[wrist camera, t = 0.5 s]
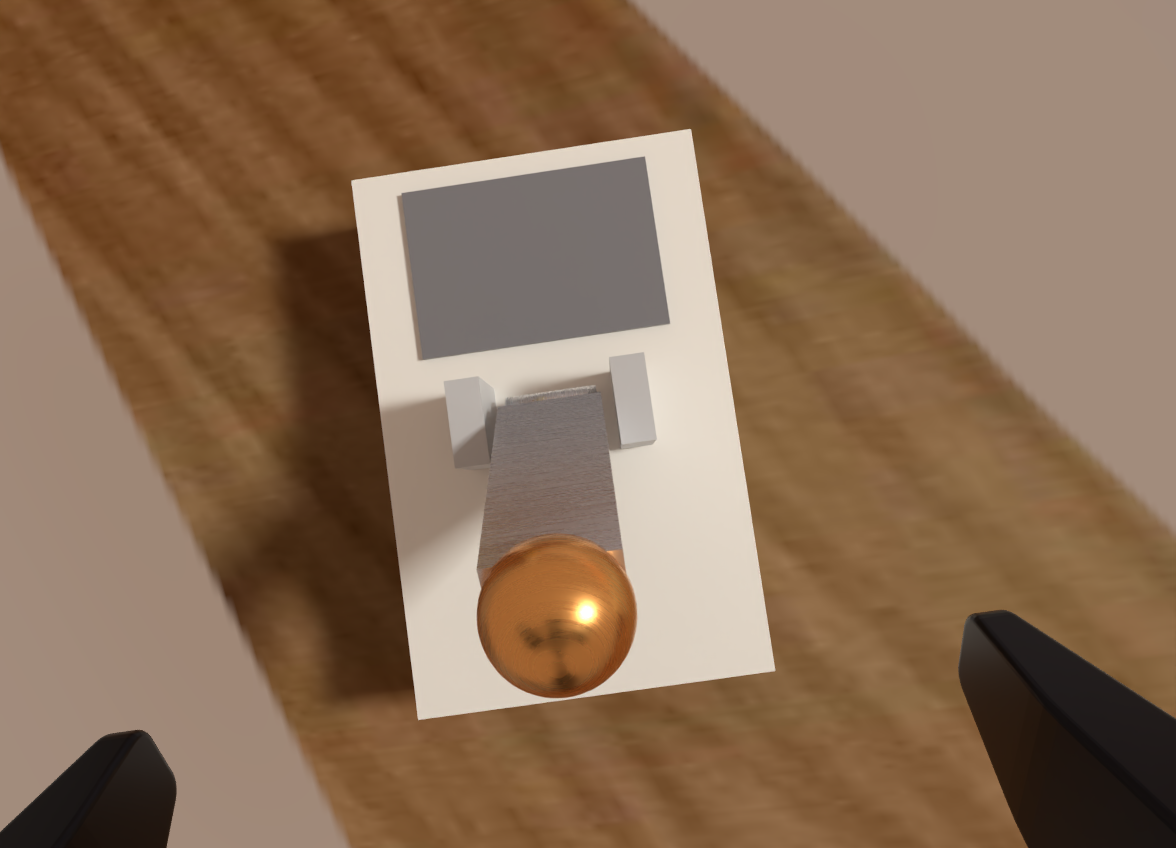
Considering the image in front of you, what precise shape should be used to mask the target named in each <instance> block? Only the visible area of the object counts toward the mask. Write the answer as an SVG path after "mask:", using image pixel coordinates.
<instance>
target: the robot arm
mask: <svg viewBox="0 0 1176 848" xmlns="http://www.w3.org/2000/svg"><path fill="white" fill-rule="evenodd" d="M958 670H959V679H960V683H961V686H962V689H963V692H964V695H965V697H966V700H967V702H968V705H969V707H970V710H971V712H972V715H973V717H974V720H975V722H976V725H977V727H978V730H979V732H980V735H981V738H982V740H983V743H984V745H985V748H986V750H987V753H988V755H989V758H990V760H991V763H992V765H993V768H994V770H995V773H996V775H997V778H998V780H999V783H1000V786H1001V788H1002V791H1003V793H1004V796H1005V798H1006V801H1007V803H1008V805H1009V808H1010V810H1011V813H1012V815H1013V817H1014V820H1015V822H1016V824H1017V826H1018V828H1019V830H1020V832H1021V834H1022V836H1023V838H1024V840H1025V842H1026V844H1027V846H1028V848H1176V718H1174V717H1172V716H1171V715H1169V714H1168V713H1166V712H1165V711H1163V710H1162V709H1160V708H1159V707H1157V706H1156V705H1154V704H1152V703H1151V702H1149V701H1148V700H1146V699H1145V698H1143V697H1142V696H1140V695H1139V694H1137V693H1136V692H1134V691H1132V690H1131V689H1129V688H1128V687H1126V686H1125V685H1123V684H1122V683H1120V682H1119V681H1117V680H1116V679H1114V678H1112V677H1111V676H1109V675H1108V674H1106V673H1105V672H1103V671H1102V670H1100V669H1099V668H1097V667H1096V666H1094V665H1092V664H1091V663H1089V662H1088V661H1086V660H1085V659H1083V658H1082V657H1080V656H1079V655H1077V654H1076V653H1074V652H1073V651H1071V650H1069V649H1068V648H1066V647H1065V646H1063V645H1062V644H1060V643H1059V642H1057V641H1056V640H1054V639H1053V638H1051V637H1049V636H1048V635H1046V634H1045V633H1043V632H1042V631H1040V630H1039V629H1037V628H1036V627H1034V626H1033V625H1031V624H1029V623H1028V622H1026V621H1025V620H1023V619H1022V618H1020V617H1019V616H1017V615H1016V614H1014V613H1012V612H1009V611H1007V610H995V611H988V612H981V613H974V614H971V615H970V616H969V617H968V618H967V619H966V622H965V625H964V632H963V638H962V645H961V652H960V658H959V666H958ZM175 801H176V781H175V777H174V775H173V772H172V771H171V769H170V767H169V766H168V764H167V763H166V761H165V759H164V757H163V756H162V754H161V753H160V751H159V749H158V748H157V746H156V744H155V743H154V741H153V739H152V738H151V736H150V735H149V734H148V733H146V732H144V731H143V730H134V731H126V732H119V733H113V734H108V735H106V736H104V737H102V738H100V739H99V740H98V741H97V742H95V743H94V744H93V745H92V746H91V747H90V748H89V749H88V750H87V751H86V752H85V753H84V754H83V755H82V756H81V757H79V758H78V759H77V760H76V761H75V762H74V763H73V764H72V765H71V766H70V767H69V768H68V769H67V770H66V771H65V772H63V773H62V774H61V775H60V776H59V777H58V778H57V779H56V780H55V781H54V782H53V783H52V784H51V785H50V786H49V787H48V788H46V789H45V790H44V791H43V792H42V793H41V794H40V795H39V796H38V797H37V798H36V799H35V800H34V801H33V802H32V803H31V804H29V805H28V806H27V807H26V808H25V809H24V810H23V811H22V812H21V813H20V814H19V815H18V816H17V817H16V818H15V819H14V820H12V821H11V822H10V823H9V824H8V825H7V826H6V827H5V828H4V829H3V830H2V831H1V832H0V848H166V847H167V841H168V836H169V832H170V826H171V821H172V816H173V811H174V806H175Z"/></svg>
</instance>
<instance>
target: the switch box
mask: <svg viewBox="0 0 1176 848" xmlns="http://www.w3.org/2000/svg"><path fill="white" fill-rule="evenodd" d="M352 189H353V197H354V206H355V214H356V222H357V230H358V238H359V246H360V254H361V262H362V270H363V278H364V286H365V294H366V302H367V310H368V318H369V327H370V335H371V343H372V351H373V359H374V367H375V375H376V383H377V391H378V399H379V407H380V415H381V423H382V431H383V440H384V448H385V456H386V464H387V472H388V480H389V488H390V496H391V504H392V512H393V520H394V528H395V536H396V544H397V552H398V561H399V569H400V577H401V585H402V593H403V601H404V609H405V617H406V625H407V633H408V641H409V649H410V657H411V665H412V673H413V682H414V690H415V698H416V706H417V714H418V720H421V719H428V718H435V717H443V716H450V715H457V714H465V713H472V712H479V711H487V710H494V709H501V708H509V707H516V706H523V705H530V704H538V703H545V702H552V701H560V700H567V699H574V698H582V697H589V696H596V695H603V694H611V693H618V692H625V691H633V690H640V689H647V688H655V687H662V686H669V685H677V684H684V683H691V682H698V681H706V680H713V679H720V678H728V677H735V676H742V675H750V674H757V673H764V672H772V671H775V666H774V659H773V653H772V647H771V640H770V634H769V627H768V621H767V615H766V608H765V602H764V595H763V589H762V582H761V576H760V570H759V563H758V557H757V550H756V544H755V538H754V531H753V525H752V518H751V512H750V505H749V499H748V493H747V486H746V480H745V473H744V467H743V461H742V454H741V448H740V441H739V435H738V428H737V422H736V416H735V409H734V403H733V396H732V390H731V384H730V377H729V371H728V364H727V358H726V351H725V345H724V339H723V332H722V326H721V319H720V313H719V307H718V300H717V294H716V287H715V281H714V274H713V268H712V262H711V255H710V249H709V242H708V236H707V230H706V223H705V217H704V210H703V204H702V197H701V191H700V185H699V178H698V172H697V165H696V159H695V153H694V146H693V140H692V133H691V129H688V130H681V131H675V132H668V133H662V134H655V135H648V136H642V137H635V138H629V139H622V140H615V141H609V142H602V143H596V144H589V145H582V146H576V147H569V148H563V149H556V150H549V151H543V152H536V153H530V154H523V155H517V156H510V157H503V158H497V159H490V160H484V161H477V162H470V163H464V164H457V165H451V166H444V167H437V168H431V169H424V170H418V171H411V172H404V173H398V174H391V175H385V176H378V177H371V178H365V179H358V180H352ZM590 385H596V391H597V392H601V398H602V405H603V412H604V419H605V425H606V432H607V439H608V446H609V453H610V460H611V467H612V474H613V481H614V489H615V496H616V503H617V510H618V517H619V524H620V531H621V538H622V545H623V552H624V560H625V567H626V574H627V576H628V578H629V580H630V582H631V584H632V587H633V590H634V594H635V598H636V602H637V627H636V633H635V637H634V641H633V643H632V646H631V648H630V651H629V653H628V655H627V657H626V658H625V660H624V661H623V663H622V664H621V666H620V667H619V668H618V670H617V671H616V672H615V673H614V674H613V675H612V676H611V677H610V678H609V679H607V680H606V681H605V682H604V683H602V684H601V685H600V686H598V687H596V688H594V689H593V690H590V691H588V692H586V693H583V694H580V695H577V696H573V697H568V698H545V697H540V696H536V695H533V694H530V693H527V692H524V691H522V690H520V689H518V688H517V687H515V686H513V685H512V684H511V683H509V682H508V681H507V680H506V679H504V678H503V677H502V676H501V675H500V674H499V673H498V672H497V671H496V670H495V668H494V667H493V665H492V664H491V663H490V661H489V660H488V658H487V656H486V654H485V652H484V650H483V648H482V645H481V642H480V639H479V634H478V629H477V604H478V598H479V594H480V591H481V586H480V582H479V578H478V574H477V570H476V569H477V562H478V554H479V547H480V539H481V531H482V524H483V516H484V509H485V501H486V493H487V486H488V478H489V471H490V463H491V456H492V448H493V440H494V433H495V425H496V418H497V410H498V407H499V406H505V399H506V398H507V397H514V396H521V395H528V394H535V393H541V392H548V391H555V390H562V389H569V388H576V387H583V386H590Z"/></svg>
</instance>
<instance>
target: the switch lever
mask: <svg viewBox="0 0 1176 848" xmlns="http://www.w3.org/2000/svg"><path fill="white" fill-rule="evenodd" d="M476 570H477V574H478V578H479V582H480V586H481V591H480V594H479V598H478V604H477V629H478V634H479V639H480V642H481V645H482V648H483V650H484V652H485V654H486V656H487V658H488V660H489V661H490V663H491V664H492V665H493V667H494V668H495V670H496V671H497V672H498V673H499V674H500V675H501V676H502V677H503V678H504V679H506V680H507V681H508V682H509V683H511V684H512V685H513V686H515V687H517V688H518V689H520V690H522V691H524V692H527V693H530V694H533V695H536V696H540V697H545V698H568V697H573V696H577V695H580V694H583V693H586V692H588V691H590V690H593V689H594V688H596V687H598V686H600V685H601V684H602V683H604V682H605V681H606V680H607V679H609V678H610V677H611V676H612V675H613V674H614V673H615V672H616V671H617V670H618V668H619V667H620V666H621V664H622V663H623V661H624V660H625V658H626V657H627V655H628V653H629V651H630V648H631V646H632V643H633V641H634V637H635V633H636V627H637V602H636V598H635V594H634V590H633V587H632V584H631V582H630V580H629V578H628V576H627V574H626V567H625V560H624V552H623V545H622V538H621V531H620V524H619V517H618V510H617V503H616V496H615V489H614V481H613V474H612V467H611V460H610V453H609V446H608V439H607V432H606V425H605V419H604V412H603V405H602V398H601V392H597V391H596V385H590V386H583V387H576V388H569V389H562V390H555V391H548V392H541V393H535V394H528V395H521V396H514V397H507V398H506V399H505V406H499V407H498V410H497V418H496V425H495V433H494V440H493V448H492V456H491V463H490V471H489V478H488V486H487V493H486V501H485V509H484V516H483V524H482V531H481V539H480V547H479V554H478V562H477V569H476Z"/></svg>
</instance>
